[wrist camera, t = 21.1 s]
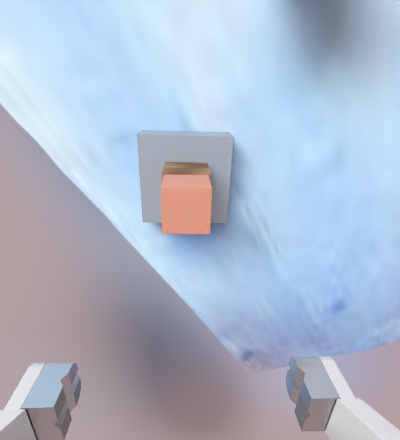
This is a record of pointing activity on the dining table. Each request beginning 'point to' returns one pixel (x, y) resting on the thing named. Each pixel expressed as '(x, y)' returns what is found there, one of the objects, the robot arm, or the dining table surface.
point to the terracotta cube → (186, 204)
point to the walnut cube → (186, 168)
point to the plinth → (184, 152)
